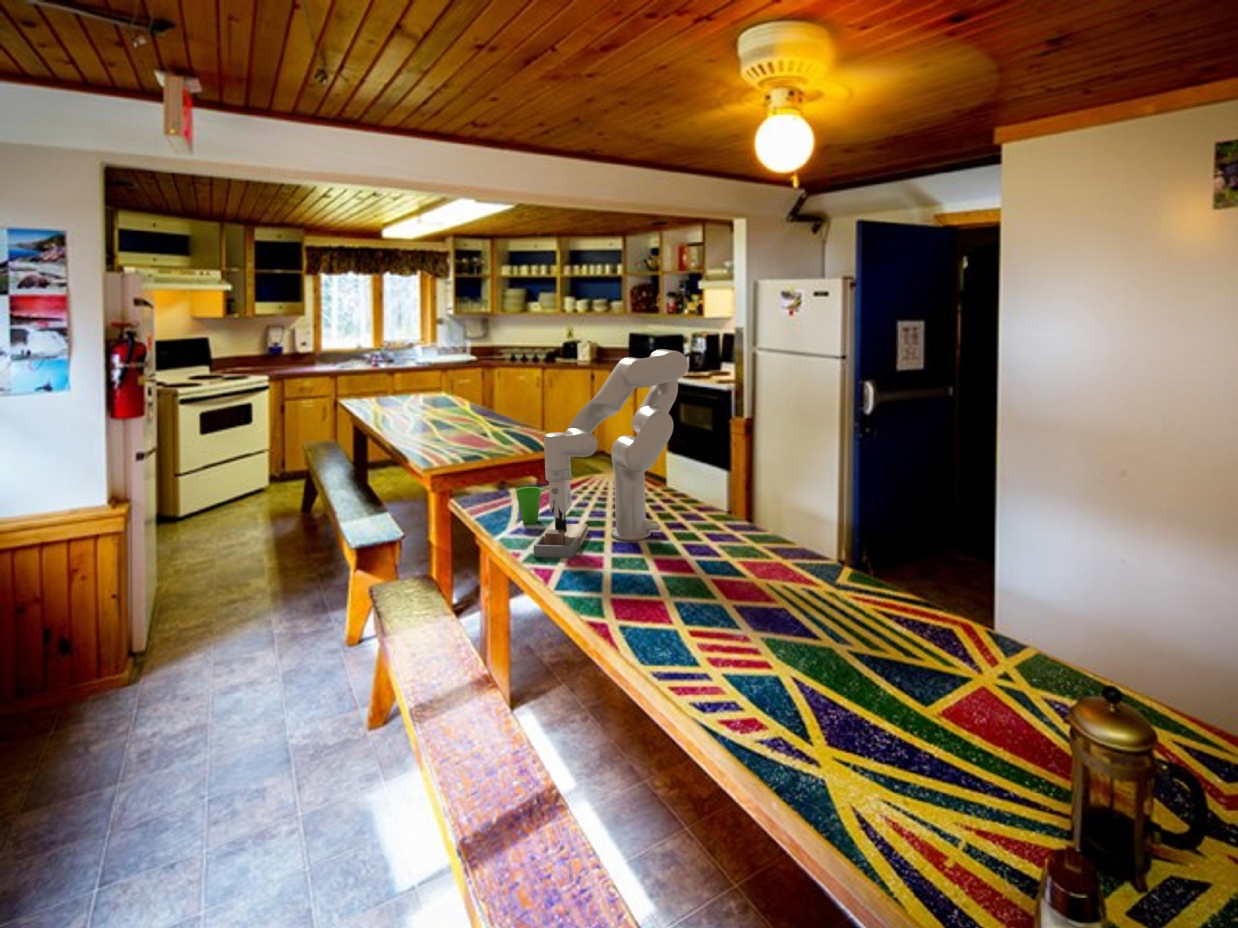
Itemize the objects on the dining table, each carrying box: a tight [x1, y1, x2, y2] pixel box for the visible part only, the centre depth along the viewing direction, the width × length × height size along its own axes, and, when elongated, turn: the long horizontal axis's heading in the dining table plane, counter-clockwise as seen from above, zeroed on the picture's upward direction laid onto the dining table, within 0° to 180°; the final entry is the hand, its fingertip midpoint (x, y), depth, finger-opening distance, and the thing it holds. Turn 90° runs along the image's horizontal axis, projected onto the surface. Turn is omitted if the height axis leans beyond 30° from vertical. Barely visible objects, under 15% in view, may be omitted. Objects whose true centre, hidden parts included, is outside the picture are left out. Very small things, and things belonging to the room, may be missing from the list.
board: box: [542, 523, 589, 548], centre depth 224 cm, size 12×13×3 cm
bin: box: [533, 534, 580, 559], centre depth 213 cm, size 12×9×4 cm
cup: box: [514, 486, 543, 524], centre depth 243 cm, size 9×9×11 cm
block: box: [545, 529, 565, 545], centre depth 215 cm, size 5×5×4 cm
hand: (561, 532), depth 219 cm, fingers closed
